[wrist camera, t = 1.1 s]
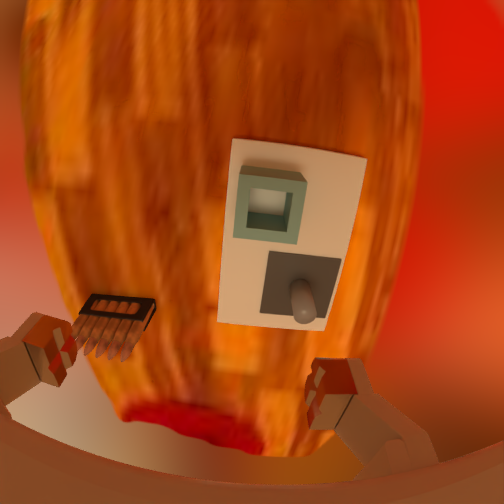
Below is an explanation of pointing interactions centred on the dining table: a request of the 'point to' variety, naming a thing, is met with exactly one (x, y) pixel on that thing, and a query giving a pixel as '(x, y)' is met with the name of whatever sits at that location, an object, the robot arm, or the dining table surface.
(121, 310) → the ammunition clip
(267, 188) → the collar
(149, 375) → the dining table surface
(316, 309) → the post board
